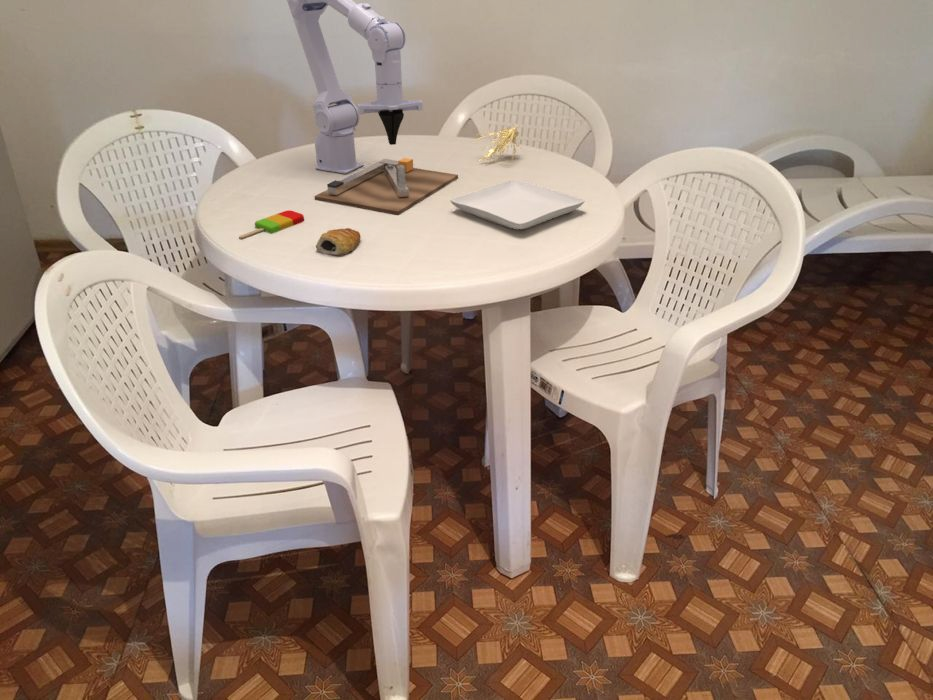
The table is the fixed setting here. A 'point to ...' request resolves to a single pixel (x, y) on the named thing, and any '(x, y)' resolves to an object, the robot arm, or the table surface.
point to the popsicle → (276, 222)
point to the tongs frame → (359, 177)
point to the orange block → (406, 164)
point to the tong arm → (397, 179)
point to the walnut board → (390, 191)
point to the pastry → (338, 241)
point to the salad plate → (517, 203)
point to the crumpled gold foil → (502, 141)
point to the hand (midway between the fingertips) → (392, 143)
